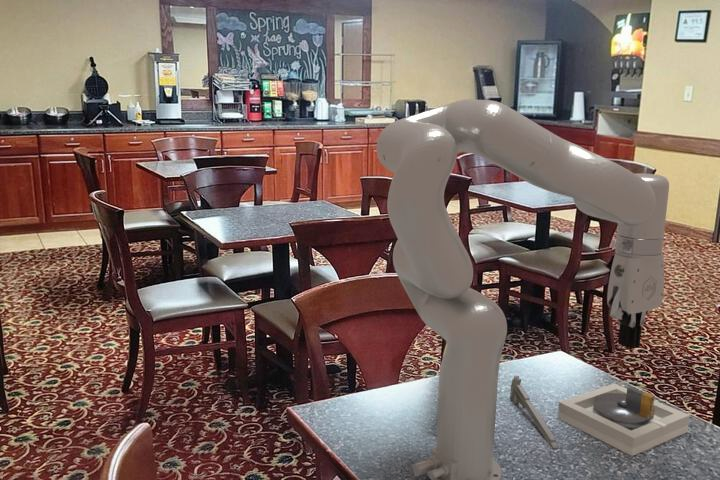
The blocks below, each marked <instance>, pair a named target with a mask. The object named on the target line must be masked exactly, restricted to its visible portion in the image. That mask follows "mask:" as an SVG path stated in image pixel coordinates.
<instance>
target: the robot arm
mask: <svg viewBox="0 0 720 480" xmlns="http://www.w3.org/2000/svg"><path fill="white" fill-rule="evenodd" d="M460 153H467V154H472V155H476V156H478V157H481V158H483V159H484V160H486V161H488V162H490V163H492V164H494V165H495V166H497V167H500V168H502V169H503V170H506V171H507V172H509V174H510V173H511V174H513V175H515V176H516V177H518V178H519V179H520V180H522V181H525V182H526V183H528V184H530V185H533V186H534V187H538V188H539V189H542V190H544V191H547V192H550V193H553V194H557V195H561V196H566V197H569V198H572V200H573V203H574V205H575V206H576V208H577V209H578V210H579V211H580V212H582V213H583V214H585V215H587V216H590V217H594V218H597V219H600V220H605V221H609V222H613V223H617V228H616V229H617V231H616V238H615V239H616V241H615V248H614V249H615V253H614V257H613V260H612V264H611V269H610V272H609V273H610V275H609V279H608V286H607V295H606V296H607V297H606V301H607V303H606V304H607V306H608V308H610V312H609V317H610V318H613V319H616V320H617V322H618V324H619V330H618V340H617V341H618V345H621V346H623V347H626V348H629V349H632V350H634V349H635V348H639V347H640V346H641V336H642V329H643V328H642V327H643V326H644V325H645V322H646V321H645V320H646V316H647V315H648V313H650V312H651V311H653V310H655V309H657V308H659V307H661V305H662V304H663V302H664V301H663V300H664V290H665V289H664V288H665V287H664V286H665V260H664V254H663V245H664V239H665V238H664V237H665V236H664V235H665V228H666V219H667V211H668V209H667V208H668V201H669V191H670V182H669V180H668V178H667V177H665V176H663V175H661V174H654V173H640V172H639V173H634V172H632V171H631V170H630V169H627V168H625V167H624V166H622V165H621V164H619V163H616V162H615V161H613V160H611V159H609V158H606V157H604V156H601V155H599V154H596V153H595V152H593V151H590V150H588V149H586V148H584V147H582V146H580V145H579V144H576V143H574V142H571V141H568V140H566V139H564V138H562V137H561V136H558V135H557V134H555V133H554V132H552V131H550V130H548V129H546V128H545V127H543V126H542V125H540V124H538V123H536V122H535V121H533V120H531V119H530V118H528V117H527V116H524V115H523V114H521V113H520V112H519V111H517V110H515V109H513V108H511V107H510V106H508V105H506V104H504V103H502V102H499V101H496V100H490V99H470V98H469V99H461V100H458V101H454V102H450V103H447V104H444V105H441V106H437V107H435V108H432V109H428V110H426V111H422V112H420V113H416V114H412V115H410V116H406V117H403V118H401V119H397V120H395V121H393V122H391V123H389V124H387V126H385V128H384V129H382V131H381V133H380V134H379V136H378V138H377V142H376V155H377V158H378V160H379V162H380V164H381V165H382V166H383V168H385V169H386V170H388V172H391V173H393V176H392V179H391V183H390V186H389V190H388V195H387V202H386V205H387V206H386V207H387V216H388V219H389V222H390V224H391V227H392V228H393V232H394V233H395V236H396V239H397V240H396V242H395V243H394V244H395V245H394V247H393V252H392V263H393V268H394V271H395V273H396V275H397V278H398V279H399V281H400V283H401V285H402V286H403V288H404V291H405V293H406V294H407V297H408V298H409V300H410V301H411V303H412V305H413V307H414V308H415V310H416V312H417V314H418V316H419V317H420V318H421V321H422V322H424V324H425V325H426V326H427V327H428V328H429V329H430V330H432V331H433V332H434V333H436V334H437V335H438V336H440V337H441V338H442V339H443V340H445V343H447V349H446V352H445V355H444V357H443V356H442V360H441V363H440V367H439V372H438V398H437V399H438V400H437V420H436V421H437V423H436V425H437V426H436V444H435V445H436V447H434V448H432V449H431V450H430V456H428V457H427V459H426V460H423V461H420V462H417V463H413V465H412V471H413V474H414V475H415V476H416V477H419V476H422V475H425V474H426V475H427V477H428V478H429V479H430V480H502V475H503V471H502V467H501V465H500V464H499V462H498V461H496V459H494V450H495V449H494V447H495V431H496V430H495V429H496V418H497V417H496V416H497V403H498V401H497V399H498V384H499V383H498V382H499V369H500V364H501V357H502V353H503V349H504V345H505V342H506V339H507V333H508V323H507V318H506V316H505V313H504V311H503V310H502V308H501V307H500V306H499V304H498V303H496V302H495V301H494V300H492V299H491V298H490V297H489V296H487V295H485V294H484V293H481V292H479V291H478V290H475V289H474V288H471V286H472V283H473V281H474V267H473V262H472V259H471V257H470V255H469V253H468V251H467V249H466V248H465V246H464V244H463V241H462V239H461V237H460V236H459V233H458V231H457V230H456V227H455V226H454V224H453V221H452V219H451V217H450V215H449V211H448V209H447V207H446V205H445V204H446V203H445V197H444V196H445V189H446V186H447V183H448V181H449V178H450V177H451V174H452V172H453V170H454V167H455V165H456V163H457V162H456V161H457V158H458V154H460Z"/></svg>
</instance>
